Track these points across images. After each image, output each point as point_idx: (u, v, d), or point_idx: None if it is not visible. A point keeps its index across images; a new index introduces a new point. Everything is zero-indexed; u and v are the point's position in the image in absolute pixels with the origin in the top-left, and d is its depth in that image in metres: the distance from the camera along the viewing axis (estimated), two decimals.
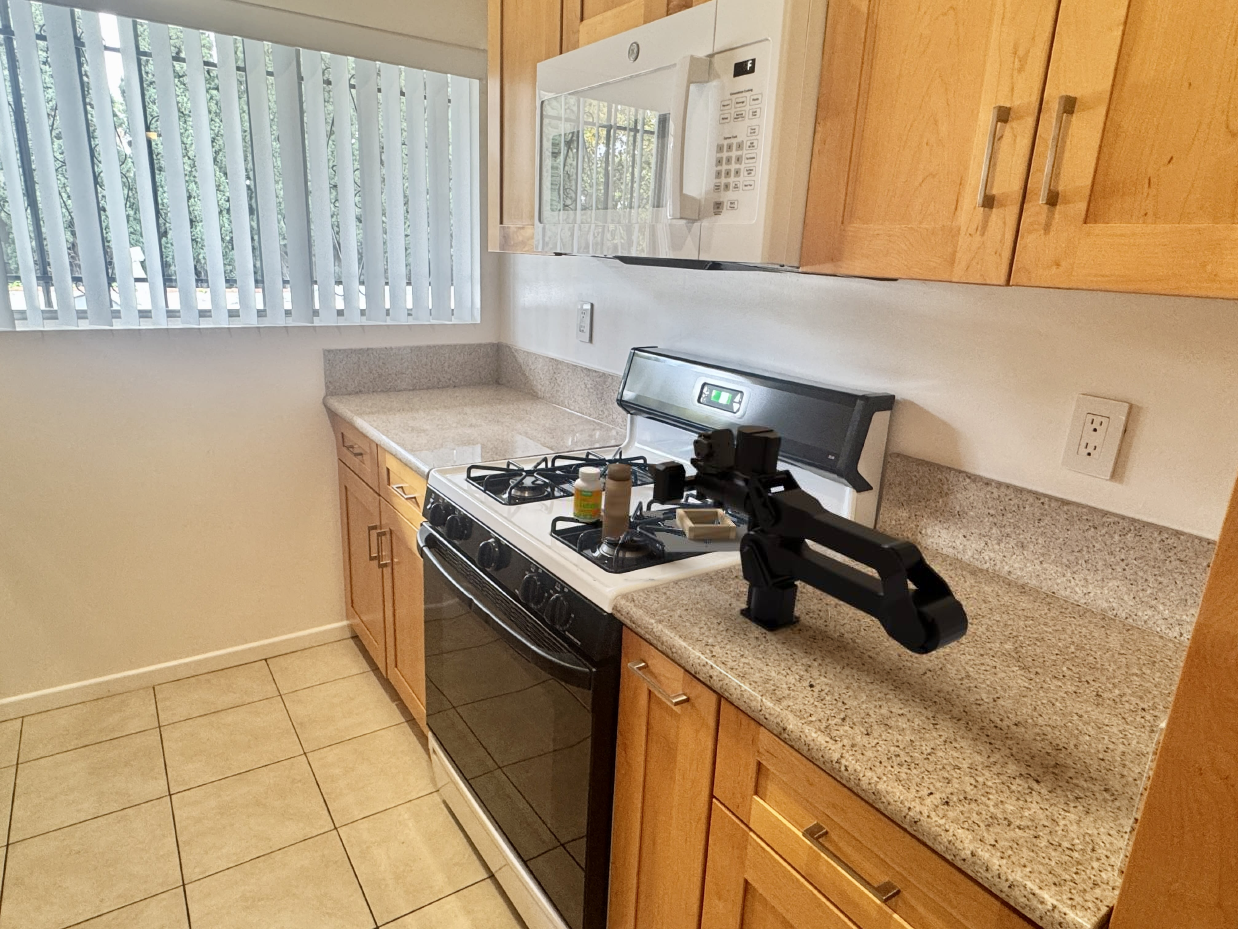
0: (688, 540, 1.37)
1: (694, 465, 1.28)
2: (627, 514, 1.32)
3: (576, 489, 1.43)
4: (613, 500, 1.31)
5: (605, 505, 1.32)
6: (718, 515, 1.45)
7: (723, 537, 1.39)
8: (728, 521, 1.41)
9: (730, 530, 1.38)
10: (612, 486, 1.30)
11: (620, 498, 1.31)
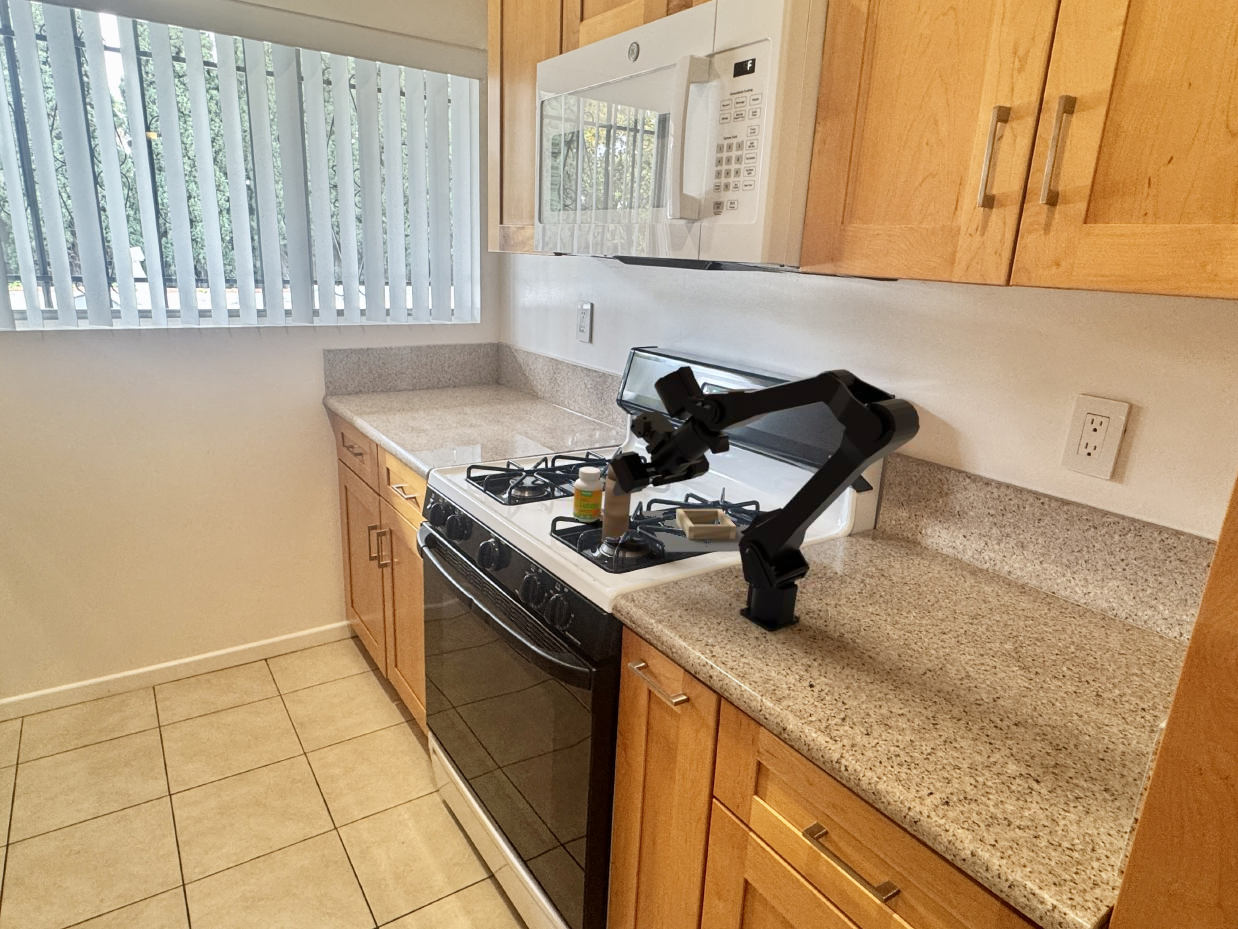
0: (688, 540, 1.37)
1: (657, 484, 1.31)
2: (627, 514, 1.32)
3: (576, 489, 1.43)
4: (613, 500, 1.31)
5: (605, 505, 1.32)
6: (718, 515, 1.45)
7: (723, 537, 1.39)
8: (728, 521, 1.41)
9: (730, 530, 1.38)
10: (612, 486, 1.30)
11: (620, 498, 1.31)
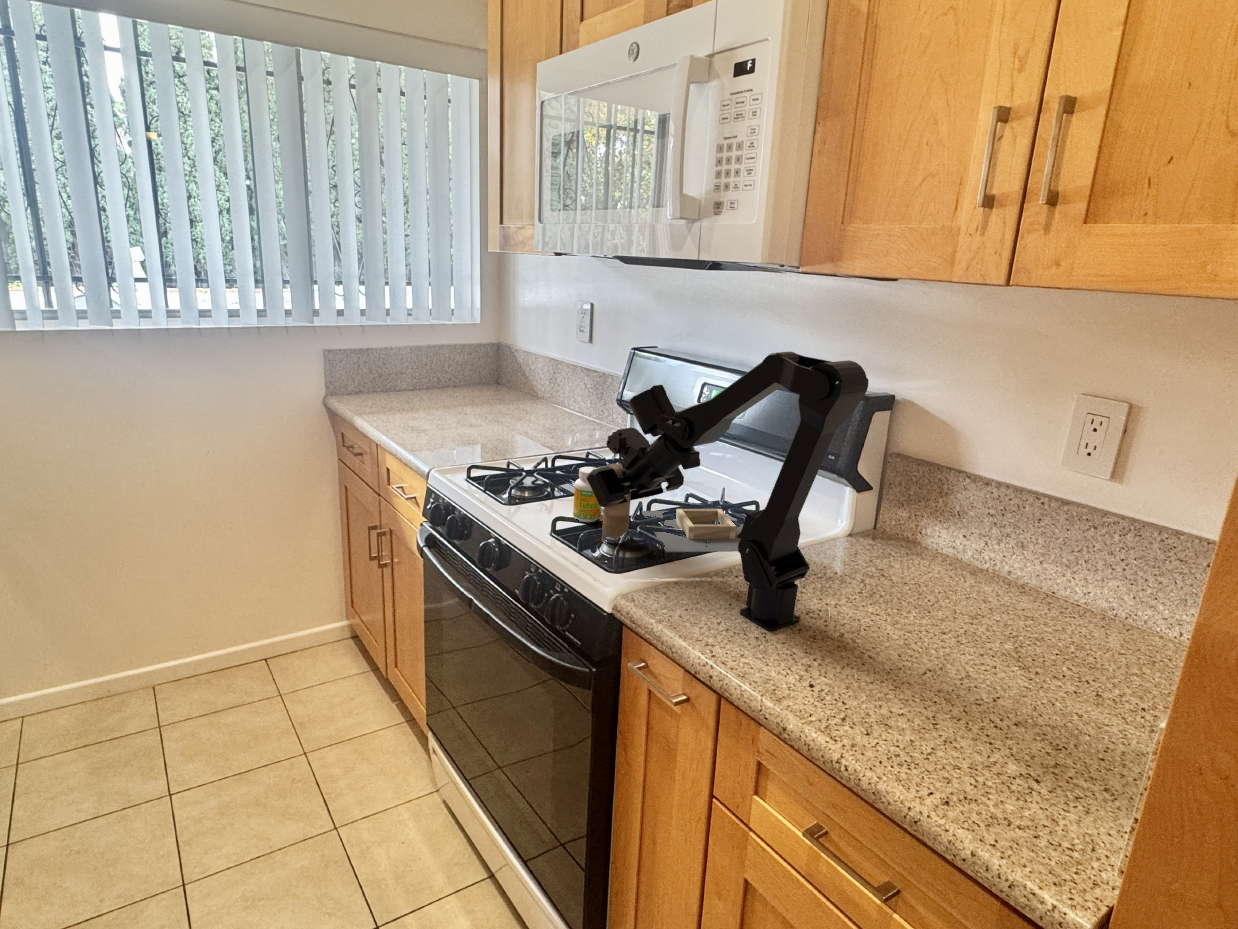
0: (688, 540, 1.37)
1: None
2: (627, 514, 1.32)
3: (576, 489, 1.43)
4: None
5: None
6: (718, 515, 1.45)
7: (723, 537, 1.39)
8: (728, 521, 1.41)
9: (730, 530, 1.38)
10: None
11: None
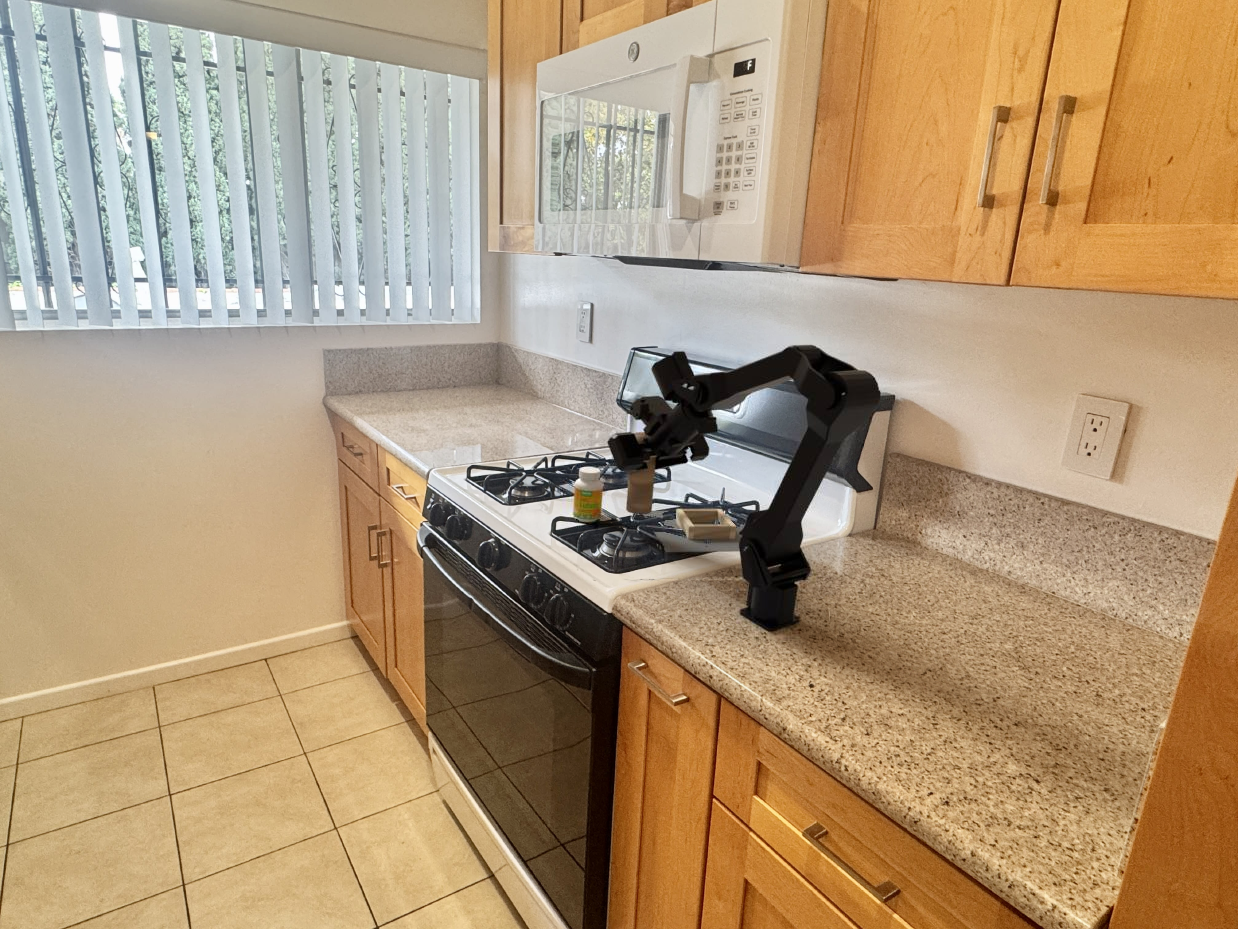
0: (688, 540, 1.37)
1: None
2: (651, 482, 1.33)
3: (576, 489, 1.43)
4: None
5: None
6: (718, 515, 1.45)
7: (723, 537, 1.39)
8: (728, 521, 1.41)
9: (730, 530, 1.38)
10: None
11: None
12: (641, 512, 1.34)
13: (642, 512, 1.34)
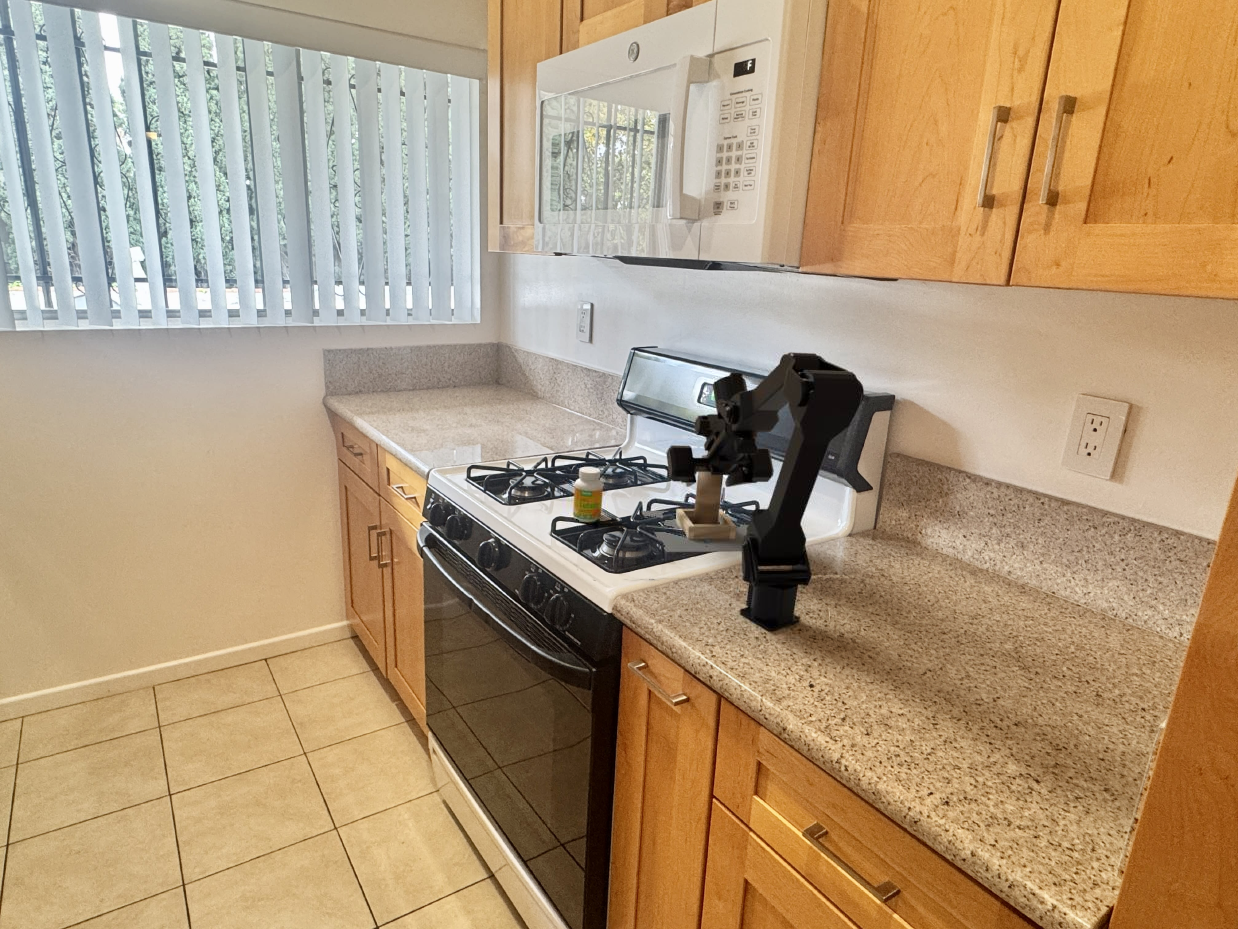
0: (688, 540, 1.37)
1: (727, 484, 1.41)
2: (714, 504, 1.39)
3: (576, 489, 1.43)
4: (700, 487, 1.39)
5: (696, 492, 1.41)
6: None
7: (723, 537, 1.39)
8: (728, 521, 1.41)
9: (730, 530, 1.38)
10: (700, 474, 1.38)
11: (706, 486, 1.38)
12: None
13: None
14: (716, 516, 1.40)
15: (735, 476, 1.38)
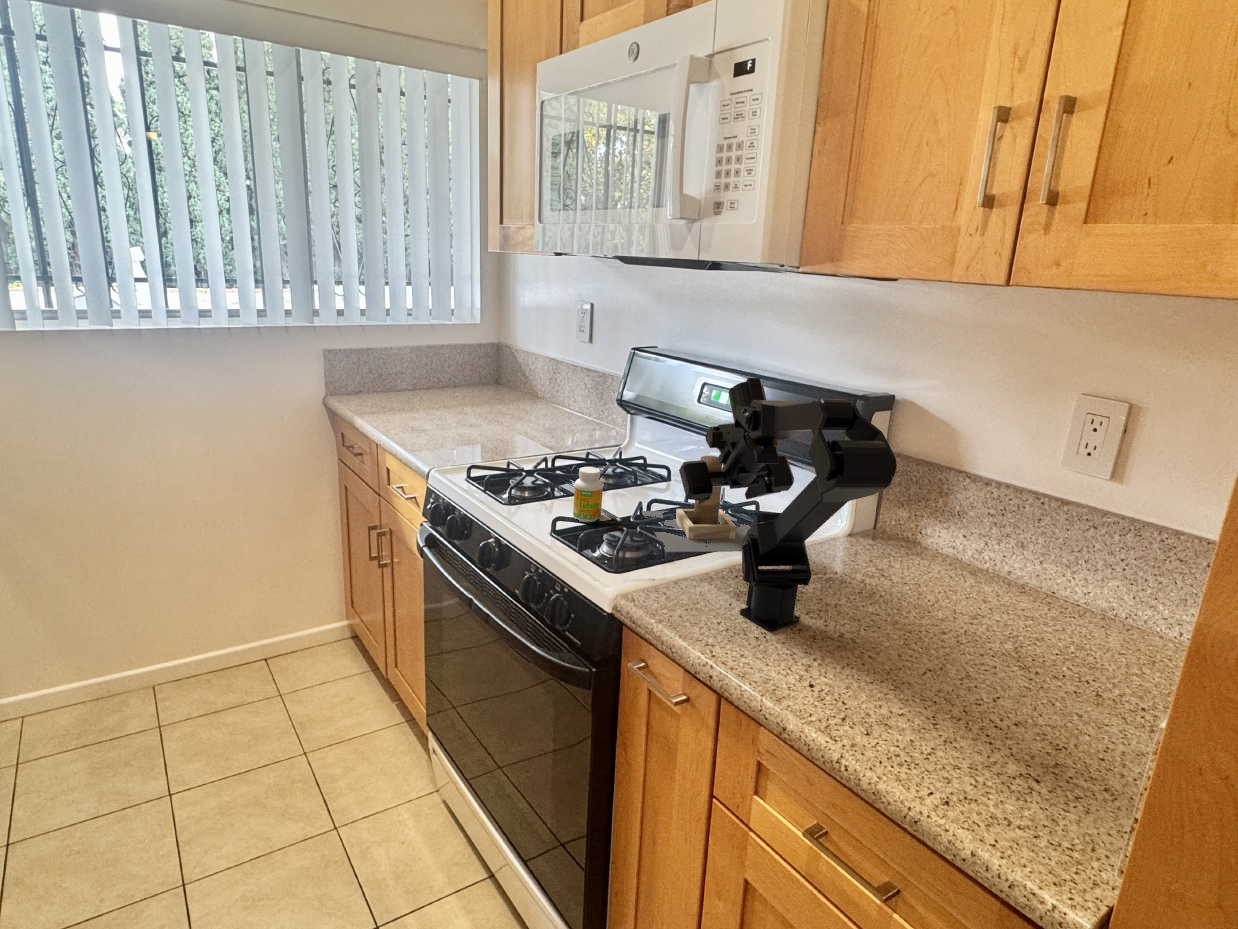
0: (688, 540, 1.37)
1: (748, 496, 1.32)
2: (713, 505, 1.39)
3: (576, 489, 1.43)
4: None
5: None
6: (718, 515, 1.45)
7: (723, 537, 1.39)
8: (728, 521, 1.41)
9: (730, 530, 1.38)
10: None
11: None
12: None
13: None
14: (716, 517, 1.40)
15: (756, 487, 1.30)
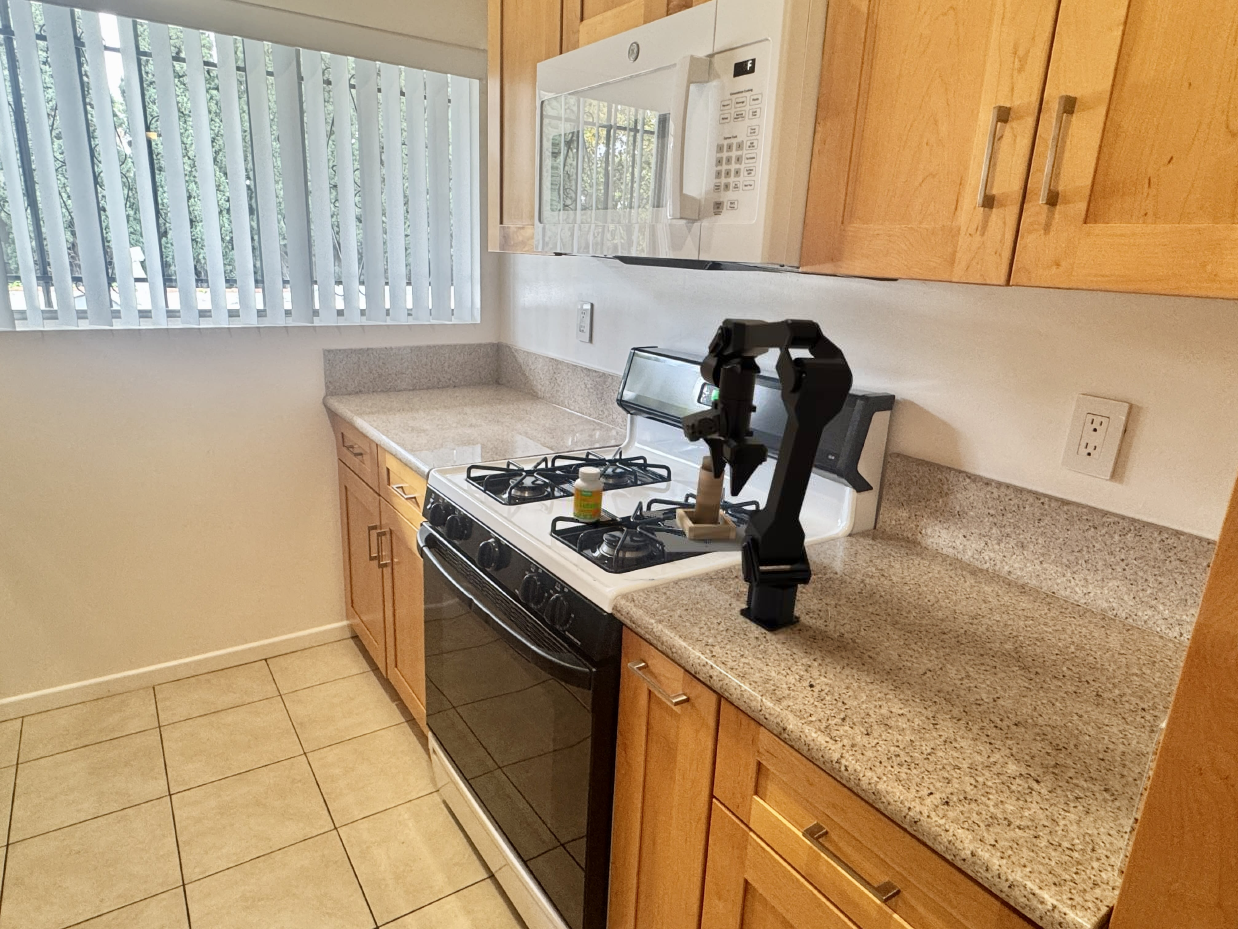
0: (688, 540, 1.37)
1: (720, 472, 1.32)
2: (714, 505, 1.39)
3: (576, 489, 1.43)
4: (701, 488, 1.38)
5: None
6: None
7: (723, 537, 1.39)
8: (728, 521, 1.41)
9: (730, 530, 1.38)
10: (702, 475, 1.38)
11: (707, 487, 1.38)
12: None
13: None
14: (716, 517, 1.40)
15: (722, 453, 1.31)
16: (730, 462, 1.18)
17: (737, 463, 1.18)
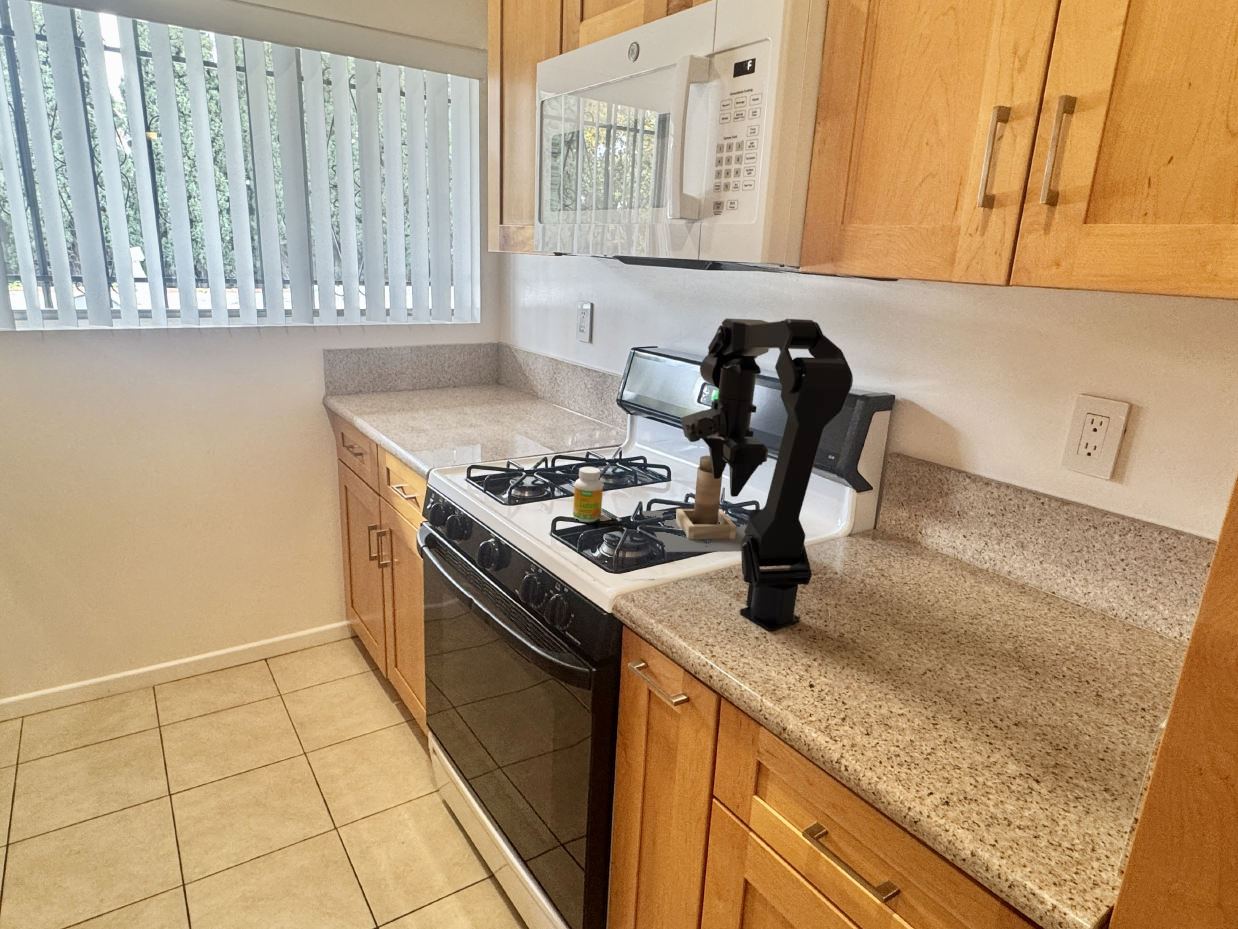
0: (688, 540, 1.37)
1: (720, 472, 1.32)
2: (713, 505, 1.39)
3: (576, 489, 1.43)
4: (699, 489, 1.38)
5: (695, 493, 1.40)
6: (718, 515, 1.45)
7: (723, 537, 1.39)
8: (728, 521, 1.41)
9: (730, 530, 1.38)
10: (699, 476, 1.38)
11: (706, 488, 1.38)
12: None
13: None
14: (716, 517, 1.40)
15: (722, 453, 1.31)
16: (730, 462, 1.18)
17: (737, 463, 1.18)
